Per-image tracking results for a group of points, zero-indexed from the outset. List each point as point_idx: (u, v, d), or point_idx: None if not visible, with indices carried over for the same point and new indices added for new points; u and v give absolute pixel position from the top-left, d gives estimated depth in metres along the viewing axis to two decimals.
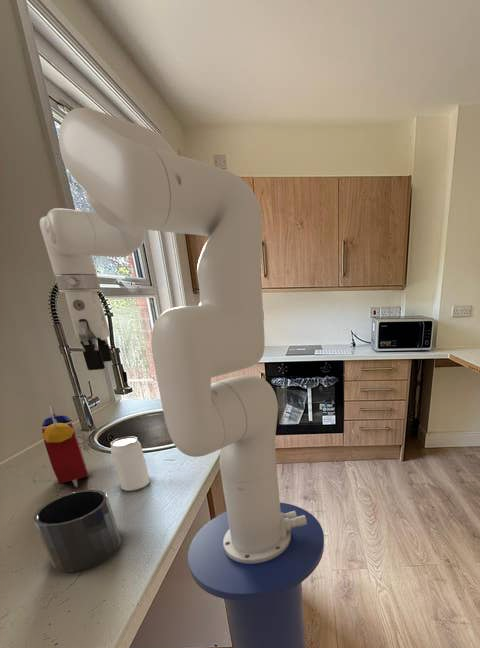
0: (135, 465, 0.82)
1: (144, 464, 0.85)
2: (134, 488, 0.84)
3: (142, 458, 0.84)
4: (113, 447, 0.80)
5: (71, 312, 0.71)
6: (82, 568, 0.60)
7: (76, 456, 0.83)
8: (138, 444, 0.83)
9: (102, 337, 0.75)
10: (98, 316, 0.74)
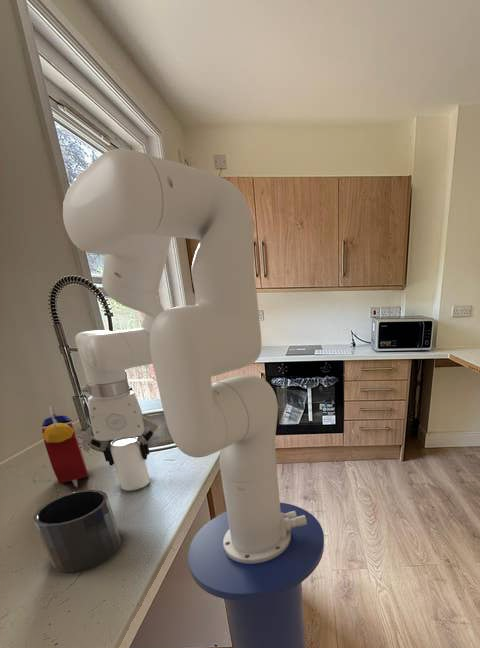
0: (135, 465, 0.82)
1: (144, 464, 0.85)
2: (134, 488, 0.84)
3: (142, 458, 0.84)
4: (113, 447, 0.80)
5: None
6: (82, 568, 0.60)
7: (76, 456, 0.83)
8: (138, 444, 0.83)
9: (98, 439, 0.78)
10: (97, 421, 0.76)
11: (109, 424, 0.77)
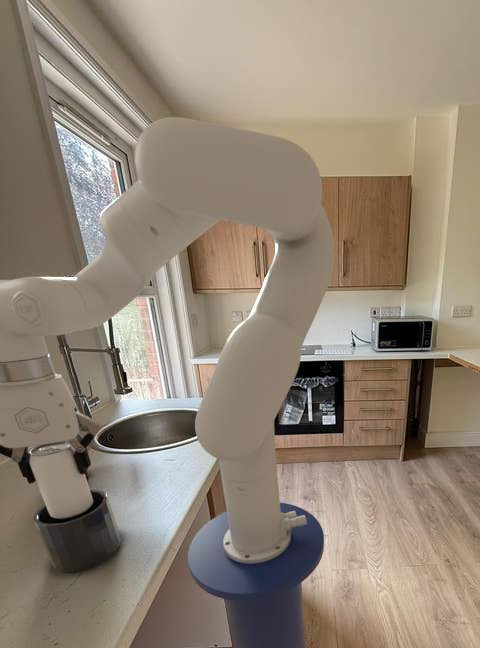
0: (66, 483, 0.57)
1: (83, 480, 0.60)
2: (67, 515, 0.58)
3: None
4: (32, 457, 0.55)
5: None
6: (82, 568, 0.60)
7: None
8: (72, 452, 0.58)
9: (5, 446, 0.52)
10: (2, 418, 0.51)
11: (21, 423, 0.52)
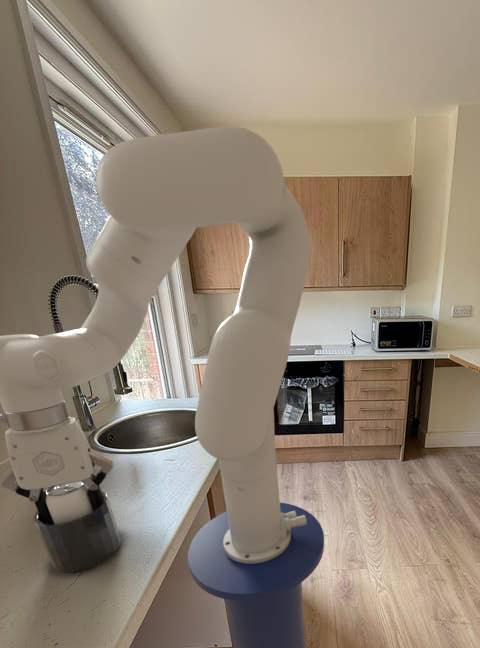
0: None
1: None
2: None
3: (92, 508, 0.62)
4: (48, 497, 0.58)
5: None
6: (82, 568, 0.60)
7: None
8: (85, 490, 0.60)
9: (23, 488, 0.55)
10: (21, 463, 0.54)
11: (39, 467, 0.55)
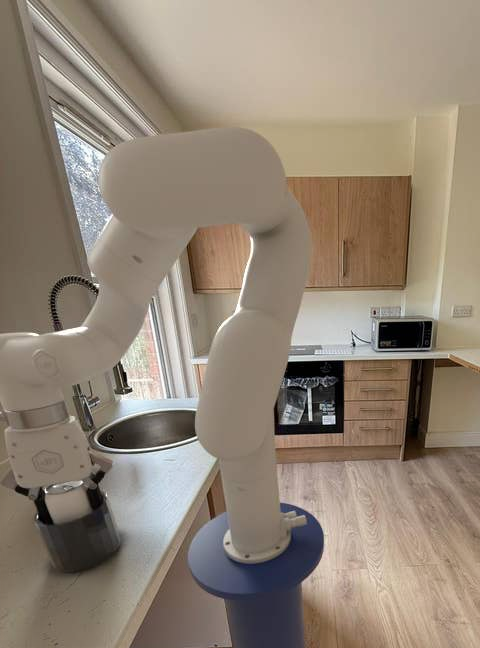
0: None
1: None
2: None
3: (91, 507, 0.61)
4: (47, 495, 0.58)
5: None
6: (82, 568, 0.60)
7: None
8: (85, 489, 0.60)
9: (22, 486, 0.55)
10: (20, 461, 0.54)
11: (38, 465, 0.55)
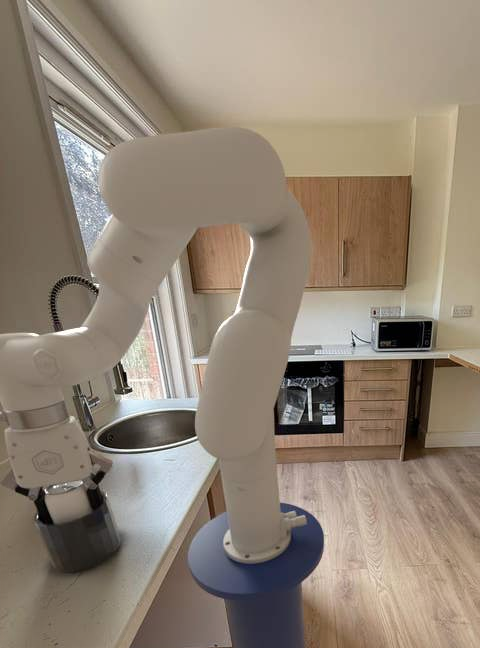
0: None
1: None
2: None
3: (91, 507, 0.62)
4: (47, 495, 0.58)
5: None
6: (82, 568, 0.60)
7: None
8: (85, 489, 0.60)
9: (22, 486, 0.55)
10: (20, 462, 0.54)
11: (38, 465, 0.55)
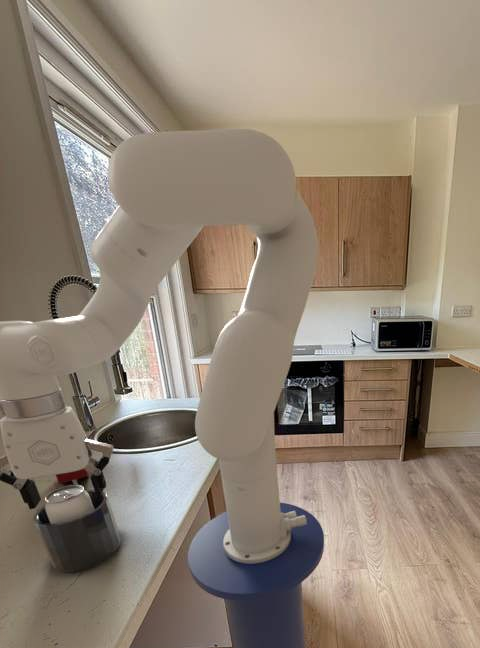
0: None
1: None
2: None
3: None
4: (47, 504, 0.58)
5: None
6: (82, 568, 0.60)
7: None
8: (85, 497, 0.61)
9: (18, 477, 0.54)
10: (16, 452, 0.53)
11: (34, 456, 0.54)
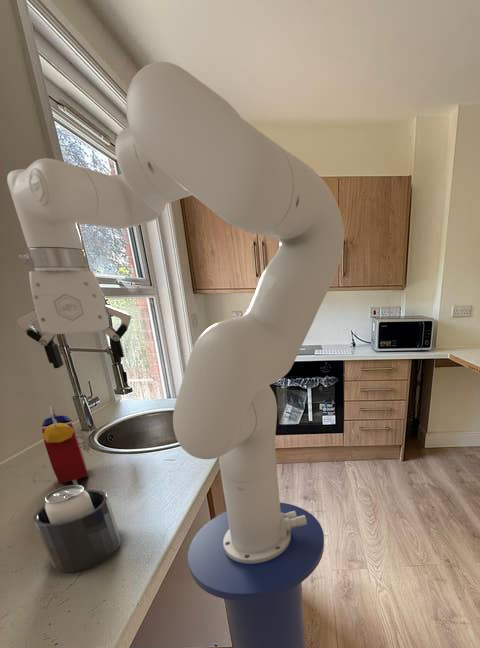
0: None
1: None
2: None
3: None
4: (47, 504, 0.58)
5: None
6: (82, 568, 0.60)
7: (76, 456, 0.83)
8: (85, 497, 0.61)
9: (45, 330, 0.59)
10: (43, 303, 0.57)
11: (59, 310, 0.58)
